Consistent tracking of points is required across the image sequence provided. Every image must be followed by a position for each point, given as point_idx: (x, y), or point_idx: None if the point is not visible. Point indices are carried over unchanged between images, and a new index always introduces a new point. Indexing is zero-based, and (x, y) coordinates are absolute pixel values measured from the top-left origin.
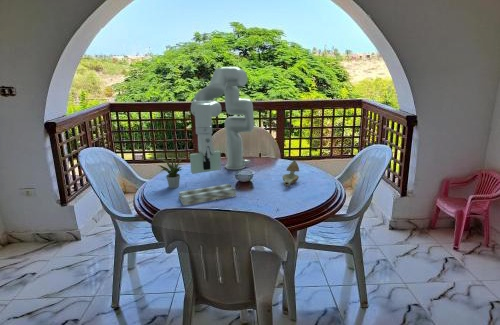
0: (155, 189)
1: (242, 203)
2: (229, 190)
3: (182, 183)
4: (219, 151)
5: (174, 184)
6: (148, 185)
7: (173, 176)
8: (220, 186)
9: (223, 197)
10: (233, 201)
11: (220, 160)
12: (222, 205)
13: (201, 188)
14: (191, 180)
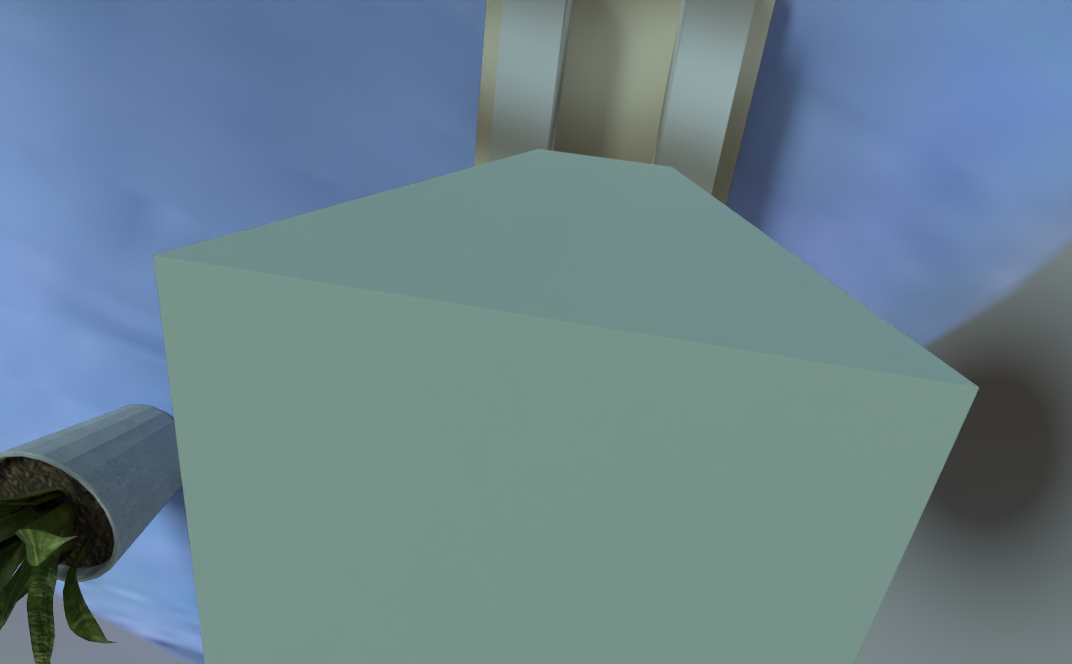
0: (172, 579)
1: (1053, 34)
2: (740, 60)
3: (88, 352)
4: (787, 431)
5: (172, 481)
6: (61, 585)
7: (71, 521)
8: (545, 119)
9: (732, 172)
10: (903, 109)
11: (710, 203)
12: (903, 279)
13: None
14: (19, 237)
